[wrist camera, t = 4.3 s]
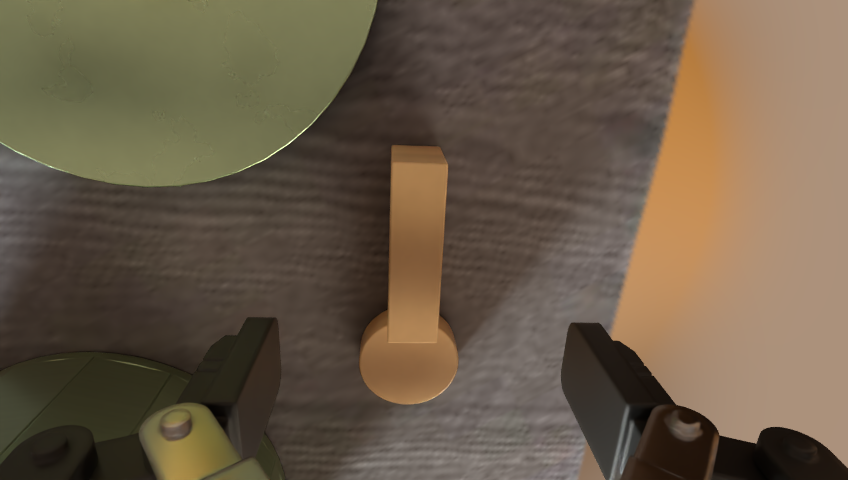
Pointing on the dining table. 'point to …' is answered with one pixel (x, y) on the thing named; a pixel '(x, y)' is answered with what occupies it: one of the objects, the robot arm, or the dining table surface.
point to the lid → (170, 82)
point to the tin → (93, 398)
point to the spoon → (412, 286)
